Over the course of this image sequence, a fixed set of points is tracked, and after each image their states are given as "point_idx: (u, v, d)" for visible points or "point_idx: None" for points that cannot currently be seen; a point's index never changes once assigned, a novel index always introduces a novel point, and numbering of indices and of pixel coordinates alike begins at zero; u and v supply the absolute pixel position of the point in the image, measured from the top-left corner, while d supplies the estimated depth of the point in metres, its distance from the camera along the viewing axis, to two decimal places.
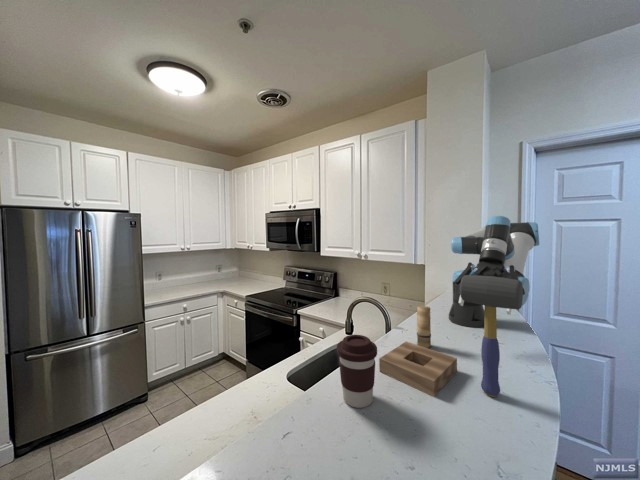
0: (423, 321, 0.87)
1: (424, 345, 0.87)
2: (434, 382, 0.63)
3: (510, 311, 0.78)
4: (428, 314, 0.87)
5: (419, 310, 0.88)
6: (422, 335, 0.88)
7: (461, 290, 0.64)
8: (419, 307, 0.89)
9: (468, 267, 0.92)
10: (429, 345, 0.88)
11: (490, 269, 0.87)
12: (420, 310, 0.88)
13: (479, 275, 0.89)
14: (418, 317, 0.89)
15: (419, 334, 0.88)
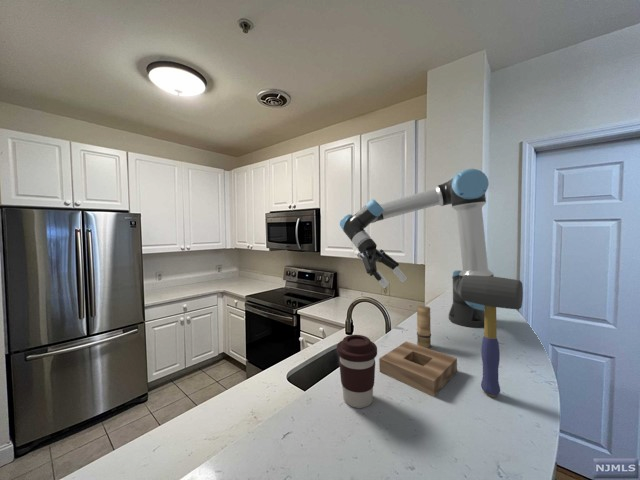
0: (423, 321, 0.87)
1: (424, 345, 0.87)
2: (434, 382, 0.63)
3: (385, 283, 0.92)
4: (428, 314, 0.87)
5: (419, 310, 0.88)
6: (422, 335, 0.88)
7: (461, 290, 0.64)
8: (419, 307, 0.89)
9: None
10: (429, 345, 0.88)
11: None
12: (420, 310, 0.88)
13: (381, 259, 1.04)
14: (418, 317, 0.89)
15: (419, 334, 0.88)
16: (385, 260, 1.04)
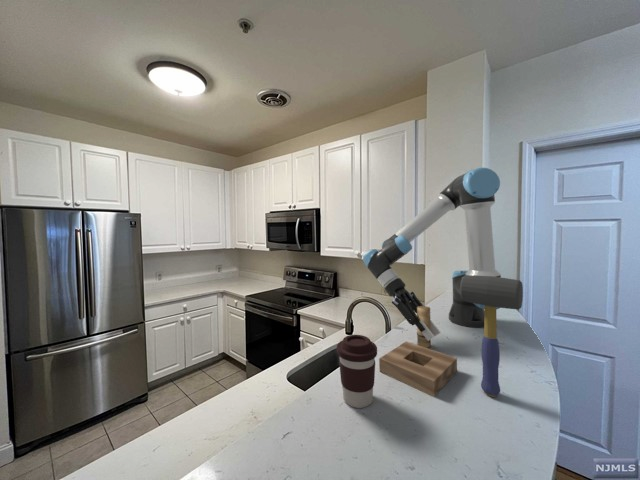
0: (423, 321, 0.87)
1: (424, 345, 0.87)
2: (434, 382, 0.63)
3: (430, 336, 0.85)
4: (428, 314, 0.87)
5: (419, 310, 0.88)
6: (422, 335, 0.88)
7: (461, 290, 0.64)
8: (419, 307, 0.89)
9: None
10: (429, 345, 0.88)
11: None
12: (420, 310, 0.88)
13: (410, 302, 0.94)
14: (418, 317, 0.89)
15: (419, 334, 0.88)
16: (414, 305, 0.93)
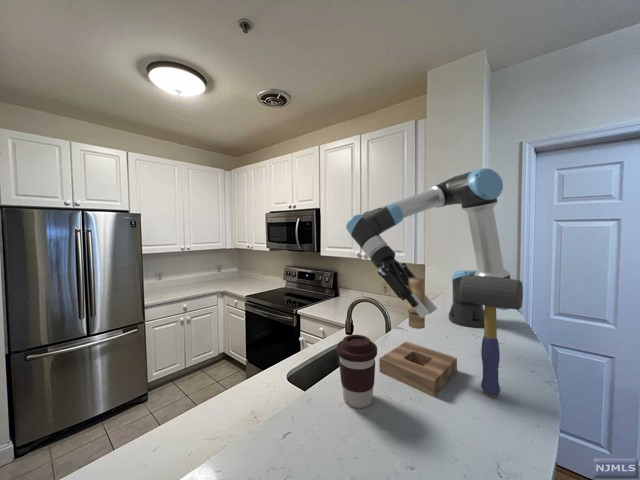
0: (415, 294, 0.71)
1: (417, 324, 0.71)
2: (434, 382, 0.63)
3: (424, 312, 0.68)
4: (422, 285, 0.71)
5: (411, 281, 0.72)
6: (414, 312, 0.71)
7: (461, 290, 0.64)
8: (411, 278, 0.73)
9: None
10: (423, 324, 0.72)
11: None
12: (412, 281, 0.72)
13: (400, 274, 0.78)
14: None
15: (411, 311, 0.72)
16: (405, 277, 0.77)
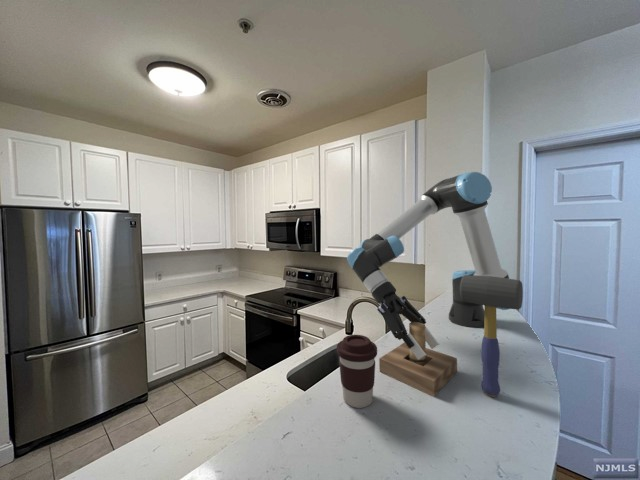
0: (417, 342, 0.71)
1: None
2: (434, 382, 0.63)
3: (421, 354, 0.68)
4: (423, 332, 0.71)
5: (412, 328, 0.72)
6: (415, 359, 0.72)
7: (461, 290, 0.64)
8: (412, 324, 0.74)
9: None
10: None
11: None
12: (413, 328, 0.72)
13: (402, 310, 0.79)
14: None
15: (412, 357, 0.73)
16: (407, 312, 0.78)
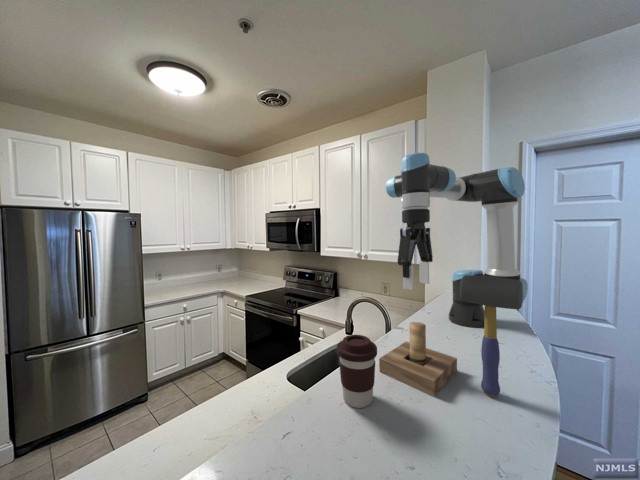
0: (417, 341, 0.71)
1: None
2: (434, 382, 0.63)
3: (409, 286, 0.69)
4: (423, 332, 0.71)
5: (412, 328, 0.72)
6: (415, 359, 0.72)
7: (461, 290, 0.64)
8: (412, 324, 0.74)
9: None
10: None
11: None
12: (413, 328, 0.72)
13: (420, 241, 0.74)
14: (410, 336, 0.73)
15: (412, 357, 0.73)
16: (422, 246, 0.74)
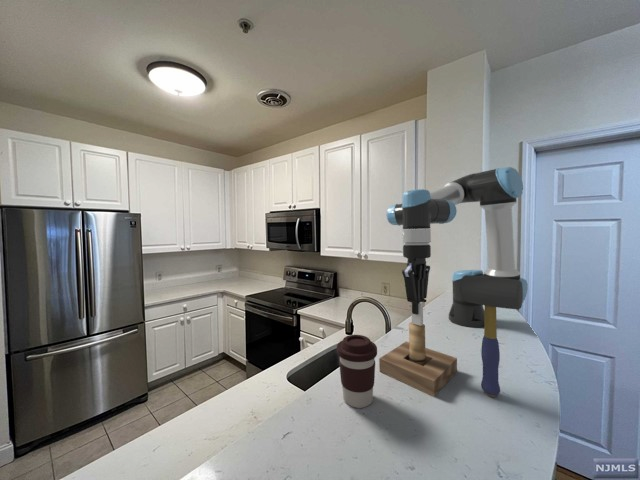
0: (416, 342, 0.71)
1: None
2: (434, 382, 0.63)
3: (418, 322, 0.72)
4: (423, 333, 0.71)
5: (412, 328, 0.72)
6: (415, 359, 0.72)
7: (461, 290, 0.64)
8: (411, 324, 0.74)
9: None
10: None
11: None
12: (413, 328, 0.72)
13: None
14: (410, 336, 0.73)
15: (412, 357, 0.73)
16: (420, 282, 0.73)
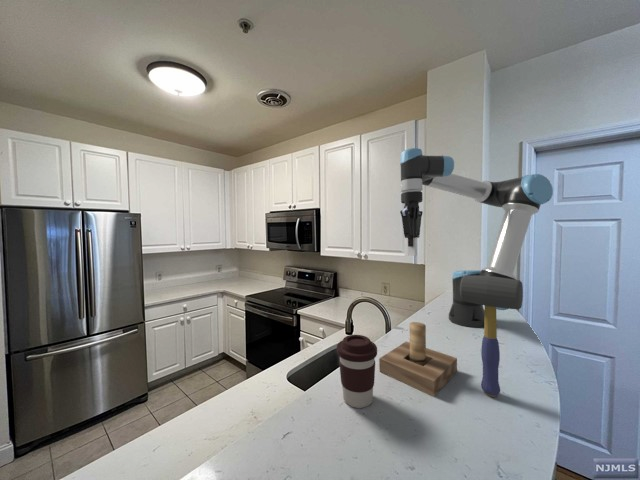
0: (417, 342, 0.71)
1: None
2: (434, 382, 0.63)
3: (412, 253, 0.93)
4: (423, 333, 0.71)
5: (412, 328, 0.72)
6: (416, 359, 0.72)
7: (461, 290, 0.64)
8: (412, 324, 0.73)
9: None
10: None
11: None
12: (413, 328, 0.72)
13: None
14: (410, 336, 0.73)
15: (412, 357, 0.73)
16: (414, 222, 0.93)
